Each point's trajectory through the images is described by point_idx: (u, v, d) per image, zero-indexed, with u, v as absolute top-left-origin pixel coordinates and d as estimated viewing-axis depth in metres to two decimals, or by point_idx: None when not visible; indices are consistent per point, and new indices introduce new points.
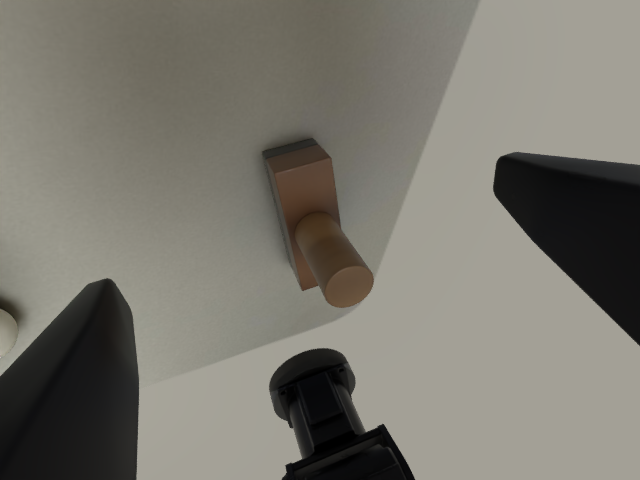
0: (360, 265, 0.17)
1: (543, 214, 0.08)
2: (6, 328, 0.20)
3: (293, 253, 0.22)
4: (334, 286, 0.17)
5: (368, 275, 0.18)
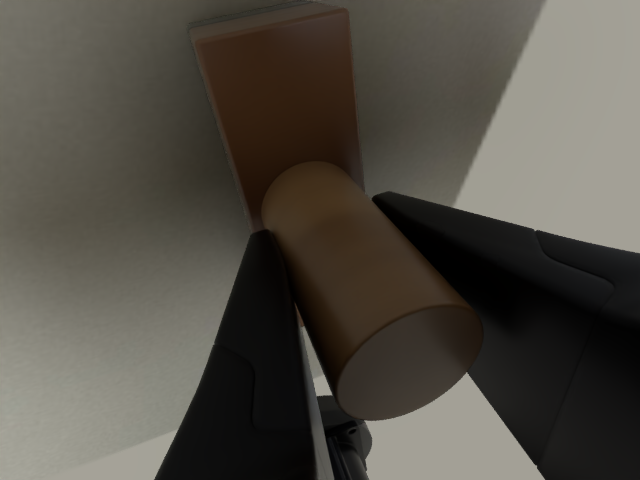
0: (452, 300, 0.05)
1: None
2: None
3: None
4: (366, 369, 0.05)
5: (473, 329, 0.06)
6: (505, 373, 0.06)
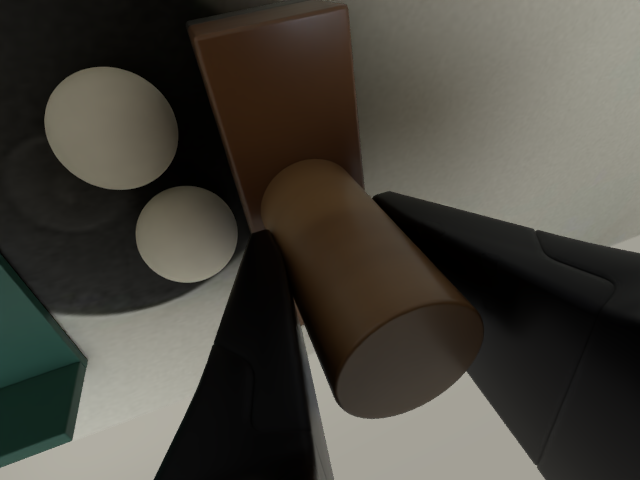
0: (452, 297, 0.05)
1: None
2: None
3: None
4: (366, 367, 0.05)
5: (474, 326, 0.06)
6: (505, 373, 0.06)
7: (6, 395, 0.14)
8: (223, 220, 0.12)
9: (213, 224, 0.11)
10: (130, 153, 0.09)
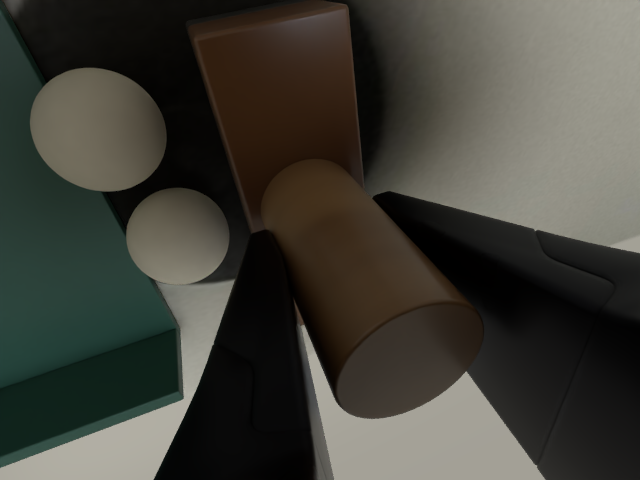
0: (452, 296, 0.05)
1: None
2: (222, 213, 0.13)
3: None
4: (366, 367, 0.05)
5: (474, 326, 0.06)
6: (505, 373, 0.06)
7: (111, 359, 0.15)
8: None
9: None
10: None
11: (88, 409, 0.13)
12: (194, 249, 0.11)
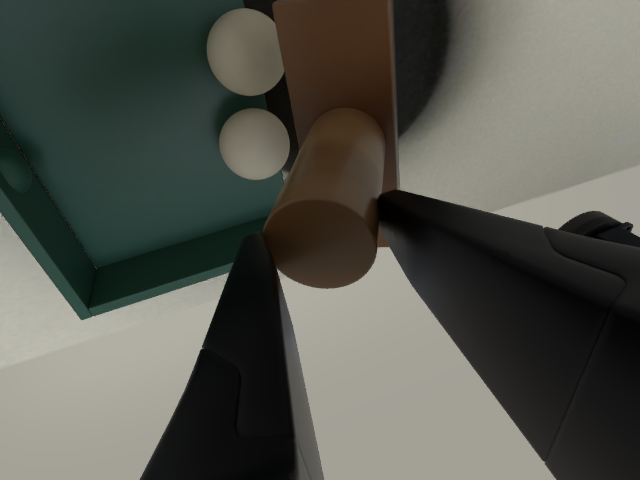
0: (343, 203, 0.07)
1: (414, 259, 0.08)
2: (253, 154, 0.16)
3: None
4: (282, 233, 0.08)
5: (363, 233, 0.08)
6: (513, 369, 0.06)
7: (247, 227, 0.20)
8: None
9: None
10: None
11: None
12: None
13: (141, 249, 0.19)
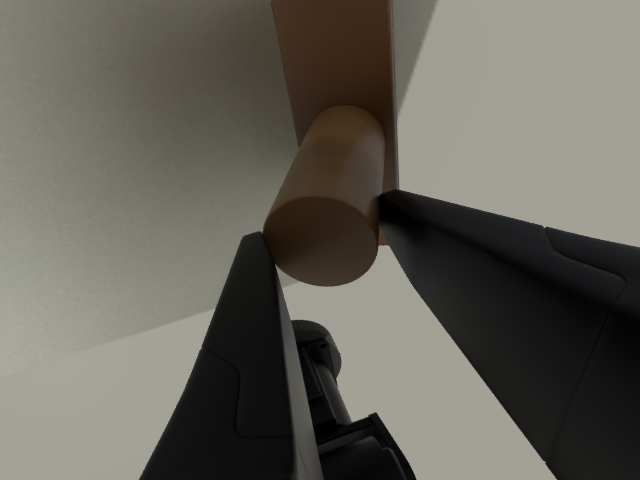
0: (345, 199, 0.07)
1: (414, 259, 0.08)
2: None
3: None
4: (282, 230, 0.08)
5: (364, 230, 0.08)
6: (514, 369, 0.06)
7: None
8: None
9: None
10: None
11: None
12: None
13: None
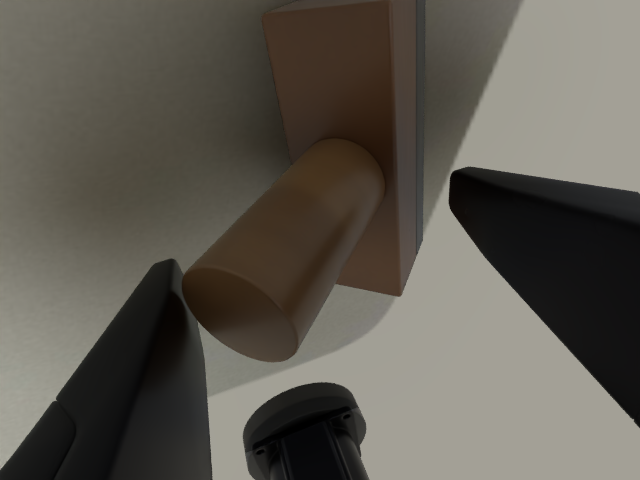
0: (255, 279, 0.06)
1: (493, 231, 0.08)
2: None
3: None
4: (199, 295, 0.07)
5: (280, 317, 0.06)
6: (607, 330, 0.07)
7: None
8: None
9: None
10: None
11: None
12: None
13: None
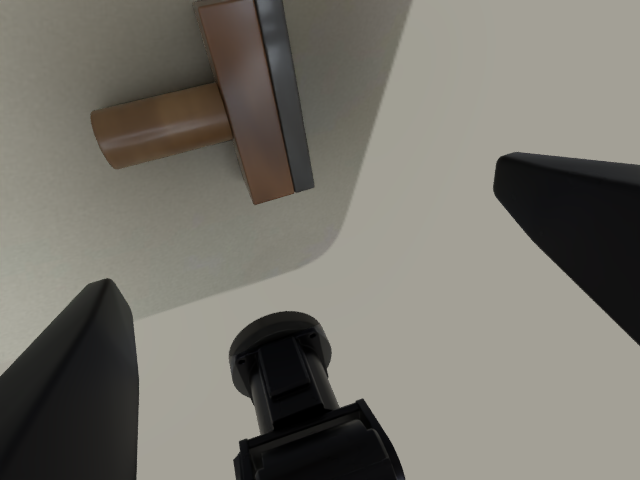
0: (93, 121, 0.15)
1: (543, 214, 0.08)
2: None
3: None
4: None
5: (97, 140, 0.15)
6: None
7: None
8: None
9: None
10: None
11: None
12: None
13: None
